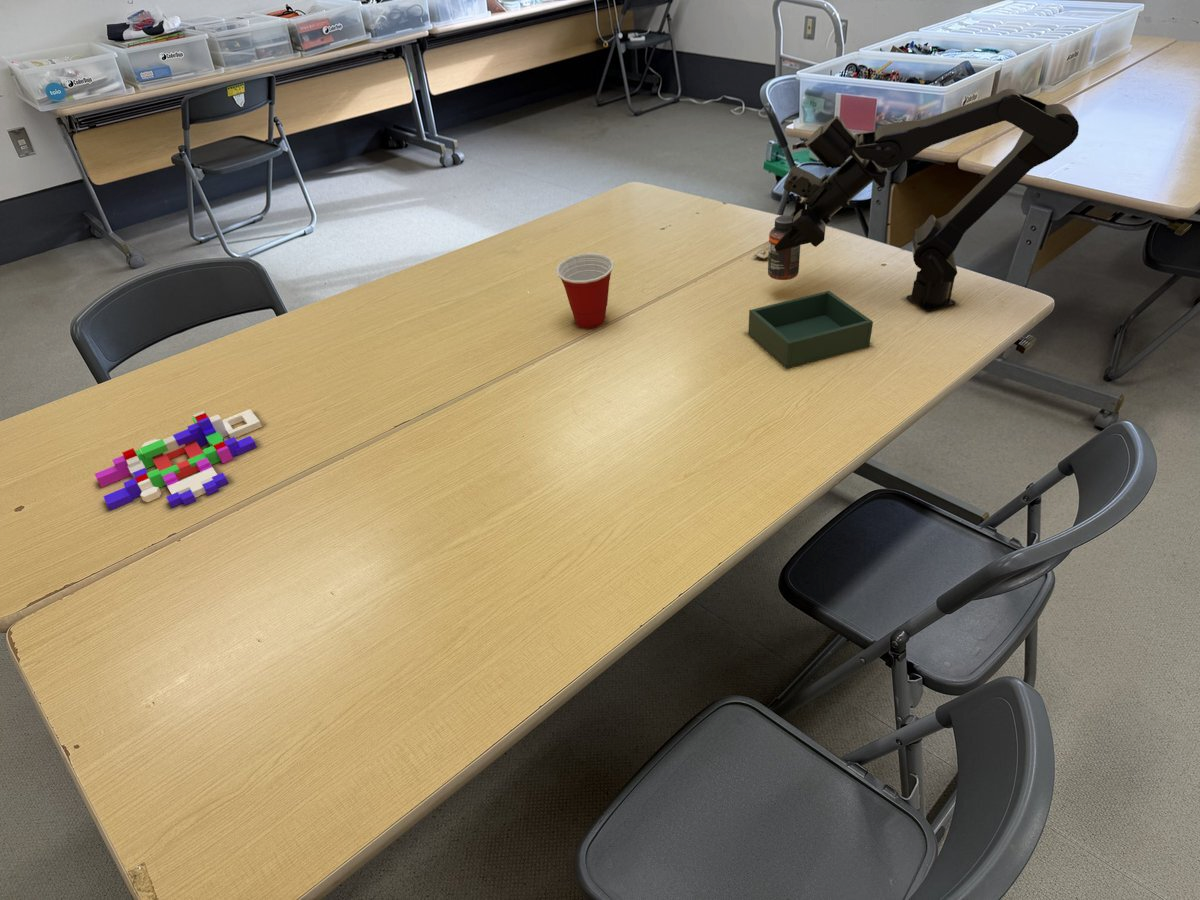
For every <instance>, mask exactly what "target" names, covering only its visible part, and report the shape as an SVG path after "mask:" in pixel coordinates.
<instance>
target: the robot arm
mask: <svg viewBox="0 0 1200 900" xmlns="http://www.w3.org/2000/svg"><path fill="white" fill-rule="evenodd" d="M1002 122H1008V123H1010V124H1012V125H1013V126H1015V127H1017V128H1018V129H1020V130H1022V133H1021V135H1020V136H1019V137H1018V140H1017V141H1016V143H1015V145H1014V147H1013V148H1012V149H1011V151H1009V152H1008V153H1007V154H1006V155H1005V157H1003V159H1001V161H999V163H997V165H995V166H994V167H993V169H992V170H990V172H988V173H987V174H986V175H985V177H983V179H981V180H980V181H979V182H978V183H977V184H976V185H975V186H974V187H973V188H972V190H970V191H969V192H968V193H967V194H966V195H965V196H964V197H963V198H962V199H961V200H960V201H959V202H958V203H957V204H956V205H954V206H953V208H952V209H951V210H950V211H949V212H948V213H946V214H944V215H943V216H941V217H939V218H936V216H934V214H930V215H929V216H928V218H927V219H926V221H924V223H923V224H922V225H921V226H919V227H918V228H916V229H914V230H915V231H914V232H915V234H914V236H913V238H912V240H911V250H912V259H913V262H914V264H915V266H916V267H917V268H918V269H920V270H918V271H917V272H916V276H915V280H914V281H913V284H912V292H911V294H908V295H907V296H906V300H908V301H909V302H911V303H912V304H914V305H916V306H917V307H918V308H920V309H922V310H923V311H925V312H928V313H929V312H933V311H938V310H941V309H945V308H949V307H953V306H956V304H957V302H956V300H954V299H952V298H951V297H952V293H953V288H954V284H955V280H956V277H957V275H958V268H957V263H956V259H955V254H954V252H955V250H956V249H957V247H958V245H959V244H960V242H961V240H962V238H963V236H965V233H966V232H967V231H969V229H970V228H971V227H972V226H973V225H974V224H975V223H977V221H979V220H980V219H981V218H982V217H983V216H984V215H985V214H986V213H988V211H989V210H990V209H991V208H992V207H994V205H996V204H997V202H998V201H1000V199H1002V198H1003V197H1004V196H1005V195H1006V194H1007V193H1008V192H1009V191H1010V190H1011V189H1012V188H1013V187H1014V186H1015V185H1016V184H1017V183H1019V182H1020V180H1021V179H1023V178H1024V176H1026V175H1027V174H1028V173H1029V172H1030V171H1031V170H1032V169H1034V168H1035V167H1038V166H1040V165H1042V164H1044V163H1046V162H1048V161H1050V160H1052V159H1054V158H1055V157H1056V156H1057V155H1058V154H1060V153H1062V152H1063V151H1064V150H1066V149H1067V148H1068V147H1070V146H1071V145H1072V144H1073V143H1074V142H1075V141H1076V139H1077V138H1078V136H1079V129H1080V125H1079V122H1078V120H1077V118H1076V117H1075V115H1074V114H1073V113H1072V111H1071V110H1070V109H1069V108H1068V106H1066V105H1064V104H1062V103H1052V104H1047V103H1044V102H1043V101H1041V100H1039V99H1036V98H1033V97H1031V96H1027V95H1025V94H1022V93H1020V92H1019V91H1017V90H1015V89H1014V88H1005V89H1003V90H1001V91H999V92H998V93H996V94H993V95H990V96H987V97H984V98H981V99H979V100H975V101H973V102H970V103H967V104H964V105H962V106H959V107H956V108H954V109H950V110H948V111H944V112H942V113H939V114H937V115H933V116H931V117H928V118H924V119H919V120H904V121H898V122H892V123H887V124H884V125H882V126H880V127H878V129H876V130H874V131H867V132H860V133H855V134H853V132H851V130H850V129H849V128H848V127H847V126H846V125H845V124H844V121H843V120H842V119H841V117H840V116H838V115H835V116H834V117H833V118H832V119H831V120H828V121H827V122H825V123H824V124H823V125H820V126H819V127H818V128H817V129H816V130H815V131H814V132H813V133H812V134H811V135H810V136H809V138H808V139H807V140H806V142H805V147H807V149H808V150H809V151H810V152H811V153H812V154H813V155H814V156H815V158H817V159H818V161H820V163H822V165H823V166H824V167H825V168H826V169H829V168H831V169H836V170H835V171H834V172H833V173H832V174H830V173H828V174H824V175H823V176H822V177H821V178H820V177H819V176H817V175H815V174H813V173H811V172H809V171H808V170H806V169H803V168H801V167H799V166H796V165H793V166H792V167H791V168H790V171H789V173H788V174H787V177H786V178H785V180H784V183H783V186H782V187H783V188H782V189H784V191H786V192H788V193H793V194H795V195H796V196H795V201H794V202H795V203H794V205H795V206H794V210H793V211H792V213H790V216H792V225H791V227H790V228H789V230H788V231H787V232H786V233H785V234H784V236H783V237H782V238H781V239H780V240H779V241H778V243H777V244H776V245H775V247H774V248H775V249H776V250H777V251H781V250H784V249H788V248H791V247H795V246H799V245H800V246H803V245H807V244H811V246H813V247H815V248H817V247H818V246H819V245H820V244H822V243H823V242H824V241H825V237H826V228H827V227H826V225H828V224H829V223H830V222H831V221H832V217H833V216H834V215H835V214H836V213H837V212H839V211H840V210H841V209H844V210H846V209H847V208H848V207H849V206H850V201H851V200H853V199H854V198H855V197H856V196H857V195H859V194H860V193H861V192H862V191H863V190H865V188H867V187H868V186H869V185H871V183H873V182H875V183H876V184H877V186H878V187H879V188H881V189H884V188H885V185H886V183H885V182H886V178H887V174H888V169H891V168H895V167H897V166H899V165H901V164H903V163H905V162H907V161H908V160H911V159H912V158H914V157H916V156H917V155H918V154H920V153H921V152H922V151H924V150H926V149H927V148H929V147H931V146H934V145H937V144H939V143H943V142H945V141H948V140H952V139H955V138H958V137H960V136H963V135H966V134H970V133H972V132H976V131H978V130H981V129H984V128H988V127H990V126H992V125H997V124H999V123H1002Z"/></svg>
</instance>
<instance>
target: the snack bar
mask: <svg viewBox="0 0 1200 900" xmlns="http://www.w3.org/2000/svg"><path fill="white" fill-rule="evenodd" d="M768 254H769V242H768V243H767V244H765V245H764V247H762V248H761V249H760V250H759V251H758V252H757V253H755V254H754V257H757V258H759V259H763V260H766V259H768Z"/></svg>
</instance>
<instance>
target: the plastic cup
mask: <svg viewBox="0 0 1200 900" xmlns="http://www.w3.org/2000/svg"><path fill="white" fill-rule="evenodd" d="M614 265H615V264H614V262H613V259H612V258H610V257H609V256H607V255H605V254H602V253H597V252H584V253H579V254H574V255H572V256H569V257H566V258H564V259H563V260H562V261H560V263H558V264H557V267H556V269H555V271H556V274H557V277H558V278H560V280H561V282H562V284H563V287H564V289H565V293H566V294H565V295H566V296H567V300H568V303H569V307H570V309H571V312H572V317H573V318H574V322H575V323H576V326H578V327H579V328H582V329H588V330H590V329H597V328H599V327H601V326H603V324H605V322H606V317H607V307H608V302H609V301H608V300H609V289H610V281H611V276H612V272H613V269H614Z"/></svg>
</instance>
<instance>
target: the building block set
mask: <svg viewBox="0 0 1200 900" xmlns="http://www.w3.org/2000/svg"><path fill="white" fill-rule="evenodd" d="M191 418H192V422H193V423H192V424H189V425H188V426H186V428H187V429H185V430H182V431H179V432H176V433H174V434H172V435H170V436H168V437H166V438H164V439H163V438H162V439H158V438H154V439H151V440H149V441H146V442H144V443H143V444H142V445H141V446H140V448H138V449H136V450H135V449H134V448H133V447H132V448H130V449H128V450H125V451H122V452H121V453H122V455H121V456H118V457H116V458H113V459H112V463H113V465H112V466H110V467H108V468H105V469H102V470H100V471H98V472H96V473H94V476H95V478H96V479H95V480H97V482H98V483H99V485H100V487H101V488H103V487H107V486H109V485H111V484H113V483H116V482H118V481H121V480H123V479H125V478H128V477H131V476H132V479H129V480H127V481H123V483H122V484H123V486H124V487H123V488H120V489H118V490H115V491H112V492H111V493H107V494H105V495H103V496H102V497H103V499H104V502H105V503H106V506H107V508H108V510H109V511H113V510H115V509H117V508H119V507H121V506H124V505H127V504H128V503H131V502H134V499H136V498H139V497H140V498H141V499H142V501H143V502H145V503H150V502H152V501H154V500H157V499H159V498H160V497H161V496H162V491H161V489H160V488H162V487H164V486H166V487H167V489H168V490H169V492H170V494H169V495H167V496H165V498H166V499H167V501H168V503H169V505H170V507H171V509H173V508H176V507H178V506H180V505H184V506H187V505H191V504H193V503H195V502H197V499H196V498H198V497H200V496H203V495H205V494H206V495H207V496H210V495H212V494H215V493H218V492H219V491H220V489H219V488H221V487H223V486H226V485H227V484H229V481H228V479H227V477H226V475H225V474H224V472H221V473H217V471H216V470H215V468H214V467H213V465H215V464H217V463H220V462H221V463H222V464H226V463H228V462H230V461H232V460H234V457H235V456H241V455H242V454H244V453H247V452H249V451H251V450H253V449H256V448H258V447H257V443H256V442H255V440H254V439H253V437H252V435H248V436H246V437H244V438H241V439H239V440H237V439H236V438H238V437H241V436H243V435H246V434H248V433H251V432H253V431H255V430H258V429H261V428H262V427H263V426H262V423H261V421H260V419H258V417H257V416H256V415H255V414H254V412H253V411H252V410H251V409H250V408H249V409H246V410H244V411H242V412H239V413H237V414H234V415H231V416H230V417H227V418H224V419H222V417H221V416H220V414H215V415H213V416H210V417H209V416H208V415H207V413H206V412H205V410H202V411H199V412H196V413H194V414H193V415H192V417H191ZM242 422H244V423H245V424H243V425H240V426H238V427H236V428H233V427H232V426H234V425H237V424H239V423H242ZM227 436H228V437H229V438H228V439H224V438H225V437H227ZM205 445H209V447H206V448H204V449H202V448H201V447H203V446H205ZM183 454H186V455H187V457H188V459H186V460H183V461H181V462H178V463H176V464H174V465H173V463H172V462H171V459H174V458H176V457H179V456H181V455H183ZM154 466H155V467H156V468H155V469H153V470H150V471H148V470H147V469H149V468H151V467H154ZM197 472H198V473H197ZM190 475H191V476H190Z"/></svg>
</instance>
